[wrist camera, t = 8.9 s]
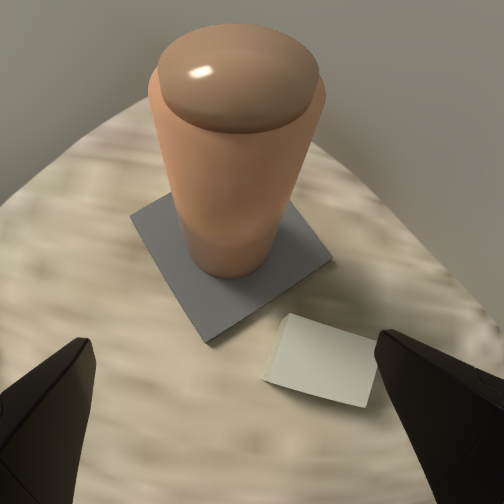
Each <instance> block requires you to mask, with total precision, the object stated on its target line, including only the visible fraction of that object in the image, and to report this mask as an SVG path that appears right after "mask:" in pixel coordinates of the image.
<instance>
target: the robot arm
mask: <svg viewBox="0 0 504 504" xmlns="http://www.w3.org/2000/svg"><path fill="white" fill-rule="evenodd" d="M374 357H375V360H376V363H377V366H378V368H379V371H380V374H381V377H382V379H383V382H384V385H385V388H386V390H387V393H388V395H389V397H390V399H391V401H392V404H393V406H394V408H395V410H396V412H397V414H398V416H399V418H400V420H401V422H402V425H403V427H404V429H405V431H406V433H407V435H408V438H409V440H410V442H411V444H412V446H413V449H414V451H415V453H416V455H417V457H418V460H419V462H420V464H421V467H422V469H423V471H424V473H425V476H426V478H427V480H428V483H429V485H430V488H431V490H432V492H433V495H434V497H435V500H436V502H437V504H504V379H501V378H499V377H496V376H494V375H491V374H489V373H487V372H485V371H482V370H480V369H478V368H475V367H473V366H471V365H469V364H467V363H465V362H463V361H460V360H458V359H456V358H454V357H452V356H450V355H447V354H445V353H443V352H441V351H439V350H437V349H434V348H432V347H430V346H428V345H426V344H424V343H421V342H419V341H417V340H415V339H413V338H411V337H408V336H406V335H404V334H402V333H400V332H398V331H396V330H393V329H388V330H382V331H381V332H380V334H379V336H378V340H377V343H376V346H375V349H374ZM95 371H96V359H95V355H94V351H93V347H92V343H91V341H90V339H89V338H80V337H78V338H75V339H74V340H72V341H71V342H70V343H68V344H67V345H66V346H64V347H63V348H61V349H60V350H59V351H57V352H56V353H54V354H53V355H52V356H50V357H49V358H48V359H46V360H45V361H43V362H42V363H41V364H39V365H38V366H37V367H35V368H34V369H33V370H31V371H30V372H28V373H27V374H26V375H24V376H23V377H22V378H20V379H19V380H18V381H16V382H15V383H14V384H12V385H11V386H10V387H8V388H7V389H6V390H4V391H3V392H2V393H1V394H0V504H72V503H73V496H74V490H75V484H76V478H77V472H78V466H79V461H80V456H81V451H82V446H83V441H84V436H85V432H86V427H87V423H88V418H89V414H90V409H91V401H92V393H93V385H94V378H95Z"/></svg>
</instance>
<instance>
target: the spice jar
mask: <svg viewBox="0 0 504 504" xmlns="http://www.w3.org/2000/svg"><path fill="white" fill-rule="evenodd" d="M148 96H149V101H150V106H151V110H152V115H153V119H154V123H155V128H156V132H157V136H158V141H159V145H160V149H161V153H162V157H163V161H164V165H165V169H166V173H167V177H168V181H169V185H170V188H171V192H172V196H173V200H174V203H175V207H176V211H177V214H178V218H179V222H180V225H181V229H182V232H183V236H184V239H185V243H186V246H187V250H188V252H189V255H190V257H191V259H192V260H193V262H194V263H195V264H196V265H197V266H198V267H199V268H200V269H201V270H202V271H204V272H205V273H207V274H209V275H211V276H214V277H217V278H222V279H235V278H240V277H244V276H246V275H249V274H251V273H252V272H254V271H255V270H257V269H258V268H259V267H260V266H261V265H262V264H263V262H264V261H265V260H266V258H267V256H268V254H269V251H270V249H271V246H272V244H273V241H274V238H275V236H276V233H277V231H278V228H279V225H280V223H281V220H282V217H283V215H284V212H285V209H286V207H287V204H288V202H289V199H290V196H291V194H292V191H293V188H294V186H295V183H296V180H297V178H298V175H299V172H300V170H301V167H302V164H303V162H304V159H305V156H306V154H307V151H308V148H309V145H310V143H311V140H312V137H313V135H314V132H315V129H316V126H317V124H318V121H319V118H320V116H321V113H322V110H323V107H324V104H325V98H326V93H325V86H324V83H323V80H322V78H321V76H320V74H319V68H318V65H317V62H316V60H315V58H314V56H313V55H312V54H311V53H310V51H309V50H308V49H306V47H305V46H303V45H302V44H301V43H299V42H298V41H297V40H295V39H293V38H292V37H290V36H288V35H286V34H284V33H281V32H279V31H276V30H273V29H270V28H266V27H262V26H257V25H250V24H221V25H214V26H209V27H204V28H201V29H197V30H195V31H192V32H190V33H187V34H185V35H183V36H182V37H180V38H178V39H177V40H175V41H174V42H173V43H171V44H170V45H169V46H168V47H167V48H166V50H165V51H164V52H163V54H162V55H161V57H160V59H159V63H158V66H157V68H156V69H155V71H154V72H153V74H152V76H151V78H150V82H149V86H148Z"/></svg>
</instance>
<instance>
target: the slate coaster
mask: <svg viewBox="0 0 504 504" xmlns="http://www.w3.org/2000/svg"><path fill="white" fill-rule="evenodd" d="M130 218H131V220H132V222H133V223H134V225H135V227H136V229H137V231H138V233H139V235H140V236H141V238H142V240H143V242H144V244H145V245H146V247H147V249H148V251H149V252H150V254H151V256H152V258H153V259H154V261H155V263H156V265H157V266H158V268H159V270H160V272H161V273H162V275H163V277H164V278H165V280H166V282H167V283H168V285H169V287H170V288H171V290H172V292H173V293H174V295H175V297H176V298H177V300H178V302H179V303H180V305H181V306H182V308H183V310H184V311H185V313H186V314H187V316H188V318H189V319H190V321H191V322H192V324H193V326H194V327H195V329H196V330H197V332H198V333H199V335H200V336H201V338H202V340H203V341H204V343H207V342H208V341H210V340H212V339H213V338H215V337H216V336H218V335H220V334H221V333H223V332H224V331H226V330H227V329H229V328H230V327H232V326H234V325H235V324H237V323H238V322H240V321H241V320H243V319H244V318H246V317H247V316H249V315H250V314H252V313H253V312H255V311H257V310H258V309H260V308H261V307H263V306H264V305H266V304H267V303H269V302H270V301H272V300H273V299H275V298H276V297H278V296H279V295H280V294H282V293H283V292H285V291H286V290H288V289H289V288H291V287H292V286H294V285H295V284H297V283H298V282H300V281H301V280H302V279H304V278H305V277H307V276H308V275H310V274H311V273H313V272H314V271H315V270H317V269H318V268H320V267H321V266H323V265H324V264H325V263H327V262H328V261H330V260H331V259H332V258H333V257H332V256H331V254H330V253H329V252H328V250H327V249H326V248H325V246H324V245H323V244H322V242H321V241H320V240H319V238H318V237H317V236H316V234H315V233H314V232H313V230H312V229H311V228H310V227H309V225H308V224H307V223H306V221H305V220H304V219H303V218H302V216H301V215H300V214H299V212H298V211H297V210H296V209H295V207H294V206H293V205H292V204H291V202H290V201H289V202H288V204H287V207H286V209H285V212H284V215H283V217H282V220H281V223H280V225H279V228H278V231H277V233H276V236H275V238H274V241H273V244H272V246H271V249H270V251H269V254H268V256H267V258H266V260H265V261H264V262H263V264H262V265H261V266H260V267H259V268H258V269H257V270H255V271H254V272H252V273H251V274H249V275H246V276H244V277H240V278H235V279H222V278H217V277H214V276H211V275H209V274H207V273H205V272H204V271H202V270H201V269H200V268H199V267H198V266H197V265H196V264H195V263H194V262H193V260H192V259H191V257H190V255H189V252H188V250H187V246H186V243H185V239H184V236H183V232H182V229H181V225H180V222H179V218H178V214H177V211H176V207H175V203H174V200H173V196H172V192H170V193H169V194H167V195H165V196H163V197H161V198H160V199H158V200H156V201H154V202H153V203H151V204H149V205H147V206H146V207H144V208H142V209H140V210H139V211H137V212H135V213H134V214H132V215H130Z"/></svg>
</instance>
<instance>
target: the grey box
mask: <svg viewBox="0 0 504 504" xmlns="http://www.w3.org/2000/svg"><path fill="white" fill-rule="evenodd" d="M376 343H377V341H375V340H372V339H369V338H366V337H362V336H359V335H356V334H353V333H350V332H347V331H343V330H340V329H337V328H334V327H331V326H328V325H325V324H322V323H319V322H316V321H313V320H310V319H307V318H304V317H301V316H298V315H295V314H292V313H289V314H288V315H287V316H286V317H285V318H283V319H282V320H281V323H280V326H279V329H278V332H277V335H276V338H275V341H274V344H273V347H272V350H271V353H270V356H269V359H268V362H267V364H266V367H265V370H264V373H263V376H262V380H264V381H267V382H270V383H274V384H277V385H280V386H283V387H287V388H290V389H294V390H297V391H300V392H304V393H308V394H311V395H315V396H319V397H322V398H326V399H330V400H334V401H338V402H342V403H346V404H350V405H354V406H359V407H363V408H365V407H366V404H367V401H368V398H369V395H370V391H371V388H372V384H373V381H374V377H375V374H376V370H377V367H378V366H377V363H376V360H375V357H374V349H375V346H376Z"/></svg>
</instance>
